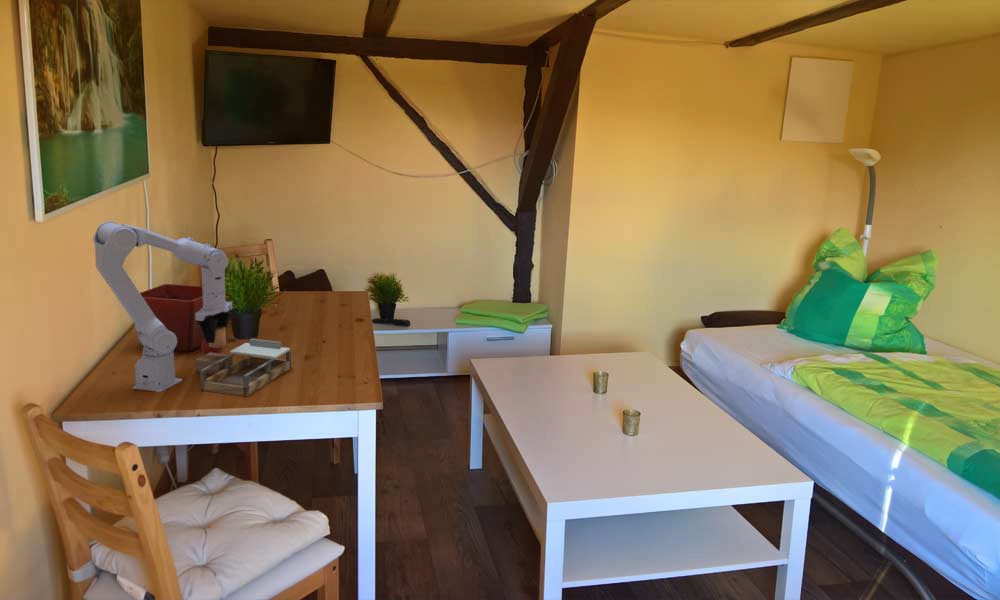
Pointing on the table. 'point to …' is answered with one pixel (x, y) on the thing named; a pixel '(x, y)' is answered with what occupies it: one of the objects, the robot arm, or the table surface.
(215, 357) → the stand
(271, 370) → the cold frame
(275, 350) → the lid
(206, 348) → the onion
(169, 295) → the plant pot
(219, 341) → the pot
